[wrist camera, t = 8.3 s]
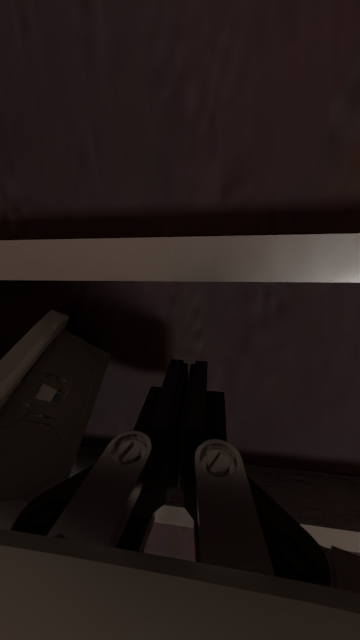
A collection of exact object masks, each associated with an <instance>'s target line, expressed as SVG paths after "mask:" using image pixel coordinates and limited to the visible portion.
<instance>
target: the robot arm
mask: <svg viewBox="0 0 360 640" xmlns="http://www.w3.org/2000/svg"><path fill="white" fill-rule="evenodd" d="M207 365H208V362H206V361H196V362H195V364H191V366H190V372H189V377H188V364H187V363H184V362H183V360H174V359H171V362H170V364H169V367H168V370H167V373H166V376H165V379H164V382H163V385H162V387H151V388H150V391H149V393H148V395H147V398H146V400H145V403H144V405H143V408H142V410H141V413H140V415H139V418H138V420H137V422H136V425H135V427H134V430H133V431H126V432H124V433H121V434H119V435H118V436H116V437H115V438H114V439H113V440H112V441H111V442H110V443H109V444H108V446H107V447H106V449H105V450H104V452H103V453H102V455H101V456H100V458H99V459H98V461H97V462H96V463H95V464H93V465H91V466H89V467H88V468H86V469H84V470H82V471H80V472H79V473H77V474H75V475H73V476H72V477H70V478H68V479H66V480H65V481H63V482H61V483H59V484H57V485H56V486H54V487H52V488H50V489H49V490H47V491H45V492H43V493H41V494H40V495H38V496H37V497H36V498H34V499H33V500H31V501H30V502H27V501H26V498H22V499H13V500H4V501H0V640H360V556H358V555H355V554H352V553H350V552H347V551H345V550H342V549H340V548H337V547H335V546H331V548H330V549H329V548H326V547H324V546H321V545H319V544H318V543H317V541H316V540H315V539H314V538H313V537H312V536H311V535H310V534H309V533H308V532H307V531H306V530H305V529H304V528H303V527H302V526H301V525H300V524H299V523H298V522H297V521H296V520H295V519H293V518H292V517H291V516H290V515H289V514H288V513H287V512H286V511H285V510H284V509H283V508H282V507H281V506H280V505H279V504H278V503H276V502H275V501H274V500H273V499H272V498H271V497H270V496H269V495H268V494H267V493H266V492H265V491H264V490H263V489H262V488H261V487H260V486H258V485H257V484H256V483H255V482H254V481H253V480H252V479H251V478H250V477H249V476H248V475H247V474H246V472H245V468H244V465H243V461H242V458H241V456H240V453H239V452H238V450H237V449H236V448H235V447H234V446H233V445H231V444H230V443H228V442H227V435H226V417H225V400H224V392H215V391H207ZM179 470H180V492H181V493H184V508H185V509H186V510H187V512H188V513H189V515H190V516H191V517H192V519H193V520H194V542H195V560H196V562H193V561H187V560H181V559H176V558H170V557H164V556H158V555H153V554H147V553H143V552H144V549H145V546H146V544H147V541H148V538H149V535H150V532H151V529H152V526H153V523H154V520H155V516H156V511H157V510H158V509H159V508H160V507H162V506H163V505H164V504H165V502H166V501H167V502H169V500H170V494H171V491H173V492H176V490H177V484H178V477H179Z"/></svg>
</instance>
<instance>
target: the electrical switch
mask: <svg viewBox="0 0 360 640" xmlns="http://www.w3.org/2000/svg"><path fill="white" fill-rule="evenodd" d="M68 320H69V316H68V315H66V314H63V313H61V312H58V311H56V310H50V311H49V312H48V313H47V314H46V315H45V316H44V317H43V318H42V319H41V320H40V321H39V322H38V323H37V324H36V325H34V326H33V327H32V328H31V329H30V330H29V331H28V332H27V333H26V335H25V336H24V337H23V338H22V339H21V340H20V341H19V342H18V343H17V344H16V345H15V346H14V347H13V348H12V349H11V350H10V351H9V352H8V353H7V354H6V355H5V356H4V357H3V358H2V359H1V360H0V501H4V500H13V499H22V498H26V501H27V502H30V501H31V500H33V499H34V498H36V497H37V496H38V495H40V494H41V493H43V492H45V491H47V490H49V489H50V488H52V487H54V486H56V485H57V484H59V483H61V482H63V481H65V480H66V479H68V478H69V476H70V473H71V470H72V467H73V464H74V461H75V458H76V455H77V452H78V450H79V447H80V444H81V441H82V438H83V435H84V432H85V429H86V426H87V423H88V421H89V418H90V415H91V412H92V409H93V406H94V403H95V400H96V397H97V395H98V392H99V389H100V386H101V383H102V380H103V377H104V374H105V371H106V368H107V366H108V363H109V360H110V357H111V354H110V353H108V352H105V351H103V350H101V349H99V348H97V347H95V346H93V345H91V344H89V343H88V342H86V341H85V340H84V339H82V338H80V337H78V336H75V335H73V334H71V333H70V332H68V331H67V330H66V329H64V328H65V326H66V324H67V322H68ZM52 477H53V478H52ZM51 478H52V479H51ZM49 479H50V480H49ZM47 480H49V481H47ZM46 481H47V482H46ZM44 482H45V483H44ZM43 483H44V484H43Z"/></svg>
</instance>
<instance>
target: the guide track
mask: <svg viewBox="0 0 360 640" xmlns="http://www.w3.org/2000/svg"><path fill="white" fill-rule="evenodd" d="M0 280H60V281H216V282H360V233H356V234H304V235H253V236H202V237H151V238H100V239H49V240H0ZM104 450H105V449H103V448H94V447H84V446H80V447H79V450H78V452H77V455H76V458H75V461H74V464H73V467H72V470H71V473H70V476H69V478H70V477H72V476H73V475H75V474H77V473H79V472H80V471H82V470H84V469H86V468H88V467H89V466H91V465H93V464H95V463H96V462H97V461H98V459H99V458H100V456H101V455H102V453H103V452H104ZM243 465H244V468H245V472H246V474H247V475H248V476H249V477H250V478H251V479H252V480H253V481H254V482H255V483H256V484H257V485H258V486H260V487H261V488H262V489H263V490H264V491H265V492H266V493H267V494H268V495H269V496H270V497H271V498H272V499H273V500H274V501H275V502H276V503H278V504H279V505H280V506H281V507H282V508H283V509H284V510H285V511H286V512H287V513H288V514H289V515H290V516H291V517H292V518H293V519H295V520H296V521H297V522H298V523H299V524H300V525H301V526H302V527H303V528H304V529H305V530H306V531H307V532H308V533H309V534H310V535H311V536H312V537H313V538H314V539H315V540H316V541H317V543H318V544H319V545H321V546H324V547H326V548H331V546H335V547H337V548H340V549H342V550H345V551H352V552H358V553H360V477H359V476H350V475H340V474H331V473H322V472H313V471H304V470H295V469H286V468H276V467H267V466H258V465H249V464H243ZM52 478H53V477H52ZM52 478H51V479H52ZM49 480H50V479H49ZM49 480H47V481H49ZM47 481H46V482H47ZM44 483H45V482H44ZM44 483H43V484H44ZM154 522H158V523H165V524H172V525H178V526H185V527H192V528H194V520H193V519H192V517H191V516H190V515H189V513H188V512H187V510H186V509H185V508H184V493H181V492H180V470H179V477H178V484H177V490H176V492H173V491H171V494H170V500H169V502H167V501H166V502H165V504H164V505H163V506H162V507H160V508H159V509H158V510H157V511H156V516H155V520H154Z"/></svg>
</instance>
